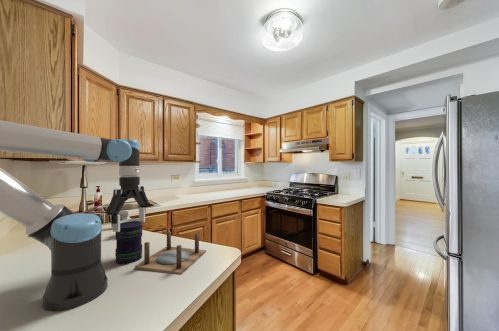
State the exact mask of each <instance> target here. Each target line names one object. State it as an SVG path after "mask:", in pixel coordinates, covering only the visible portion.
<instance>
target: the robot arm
mask: <svg viewBox="0 0 499 331" xmlns="http://www.w3.org/2000/svg"><path fill="white" fill-rule="evenodd" d="M0 152H8V153H9V152H10V153H19V154H20V153H21V154H30V155H31V154H32V155H41V156H51V157H52V156H53V157H62V158H71V159H72V158H74V159H82V160H83V161H84V162H86V163H118V167H119V168H118V175H119V178H118V182H119V183H118V184H119V186H120V189H119V188H118V189H117V188H116V189H113V191H112V197H111V199H110V202H109V204H108V208H107V210H106V212H105V215H108V216H109V215H111V222H110V224H111V223H112V224H113V228H112V232H113V233H114V232H120V215H118V213H119V212H120V211H122V208H123V206H124V205H125V203H126V202H127V201H128V200H130V199H134V201H135V202H136V203H137V205H138V206H139V207H138V219H139V222H142V223H146V210H147V209H146V208H149V205H150V202H149V200H148V197H147V195H146V192H145V187H144V186H143V185H141V181H140V180H141V178H140V152H141V150H140V143H139V141H138V140H136V139H130V138H129V139H128V138H127V139H126V138H125V139H124V138H122V139H119V138H113V139H112V138H111V139H110V138H106V137H99V136H94V135H88V134H82V133H76V132H71V131H65V130H64V131H63V130H59V129H53V128H47V127H41V126H35V125H31V124H30V125H29V124H23V123H18V122H12V121H8V120H7V121H6V120H1V119H0ZM0 213H2V214H3V215H6V216H7V217H8V218H10V219H12V220H14V221H16V222H17V223H19V224H21V225H23V226H24V227H25V234H26V235H27V236H29V237H31V238H32V239H34V240H36V241H38V242H40V243H41V244H42V245H43V246H44V245H45V246H46V247H48V249H49V250H50V253H51V255H50V258H51V259H50V260H51V263H50V268H51V269H50V270H51V271H50V277H49V280H48V283H47V286H46V288H45V291H44V293H43V295H42V300H41V301H42V303H41V304H42V305H41V306H42V308H43V309H44V310H45V309H47V310H46V311H49V310H54V311H53V312H56V311H55V310H60V311H65V310H70V309H73V308H74V309H75V308H77V307H80V306H83V305H85V304H87V303H89V302H91V301H93V300H95V299H97V298H99V297H100V296H101V295H103V294H104V292H106V290H107V289H108V282H109V281H108V280H109V279H108V277H107V274H106V271H105V269H104V267H103V265H102V229H103V227H102V226H103V225H102V219H101V218H100V216H98V215H96V214H94V213H82V212H81V213H76V212H74V211H73V210H71V209H70V208H68V207H67V206H66V205H64V204H63V203H60V204H54V203H52V202H50V201H49V200H47V199H46V198H45V197H44V196H42V195H40V194H39V193H38V192H36V191H35V190H34V189H32V188H30V187H29V186H28V185H27V184H25V183H23V182H22V181H20V180H19V179H17V178H16V177H15V176H13V175H12V174H11V173H9V172H8V171H6V170H4V169H3V168H2V167H0Z"/></svg>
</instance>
